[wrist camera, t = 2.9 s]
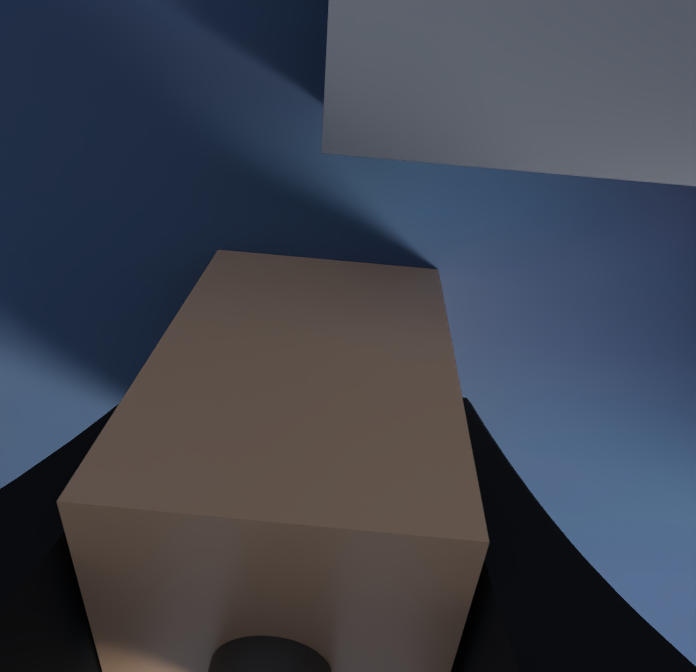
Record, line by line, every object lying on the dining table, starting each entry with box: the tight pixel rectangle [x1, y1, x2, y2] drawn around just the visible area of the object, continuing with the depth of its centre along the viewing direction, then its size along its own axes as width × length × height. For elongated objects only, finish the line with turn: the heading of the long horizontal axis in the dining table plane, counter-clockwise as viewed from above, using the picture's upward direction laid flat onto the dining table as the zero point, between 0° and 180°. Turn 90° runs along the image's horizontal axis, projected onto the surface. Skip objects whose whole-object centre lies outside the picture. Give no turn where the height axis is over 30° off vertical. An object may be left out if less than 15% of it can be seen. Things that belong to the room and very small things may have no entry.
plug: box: [56, 250, 489, 672], centre depth 8 cm, size 4×5×8 cm
